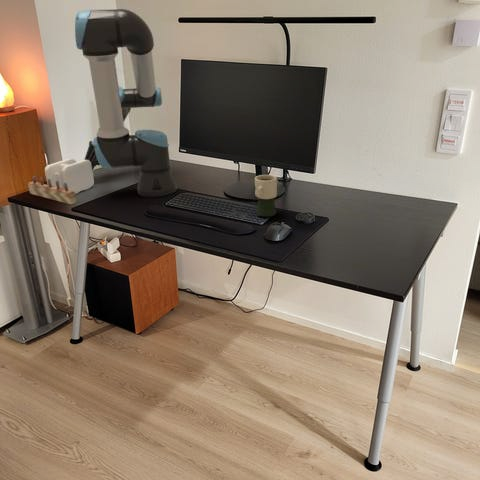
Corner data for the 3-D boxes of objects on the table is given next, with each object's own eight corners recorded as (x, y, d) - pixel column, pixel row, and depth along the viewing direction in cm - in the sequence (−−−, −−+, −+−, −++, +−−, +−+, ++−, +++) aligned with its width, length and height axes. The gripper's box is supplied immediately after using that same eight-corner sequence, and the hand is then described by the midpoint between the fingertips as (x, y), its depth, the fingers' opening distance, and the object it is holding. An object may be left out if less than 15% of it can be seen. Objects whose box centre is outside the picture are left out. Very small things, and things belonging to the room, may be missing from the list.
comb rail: (76, 202, 182) (73, 183, 179) (71, 204, 180) (67, 185, 177) (35, 191, 196) (31, 173, 193) (30, 193, 194) (26, 175, 191)
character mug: (263, 208, 169) (262, 172, 164) (282, 211, 166) (282, 174, 161) (249, 219, 160) (248, 181, 155) (269, 222, 157) (268, 183, 152)
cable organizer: (67, 197, 188) (62, 168, 183) (48, 194, 192) (42, 165, 188) (95, 186, 200) (90, 158, 195) (76, 183, 204) (71, 156, 200)
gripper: (125, 136, 206) (100, 185, 200) (104, 133, 213) (79, 180, 207) (114, 125, 199) (87, 175, 194) (93, 123, 206) (66, 171, 201)
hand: (83, 178), depth 200 cm, fingers closed
